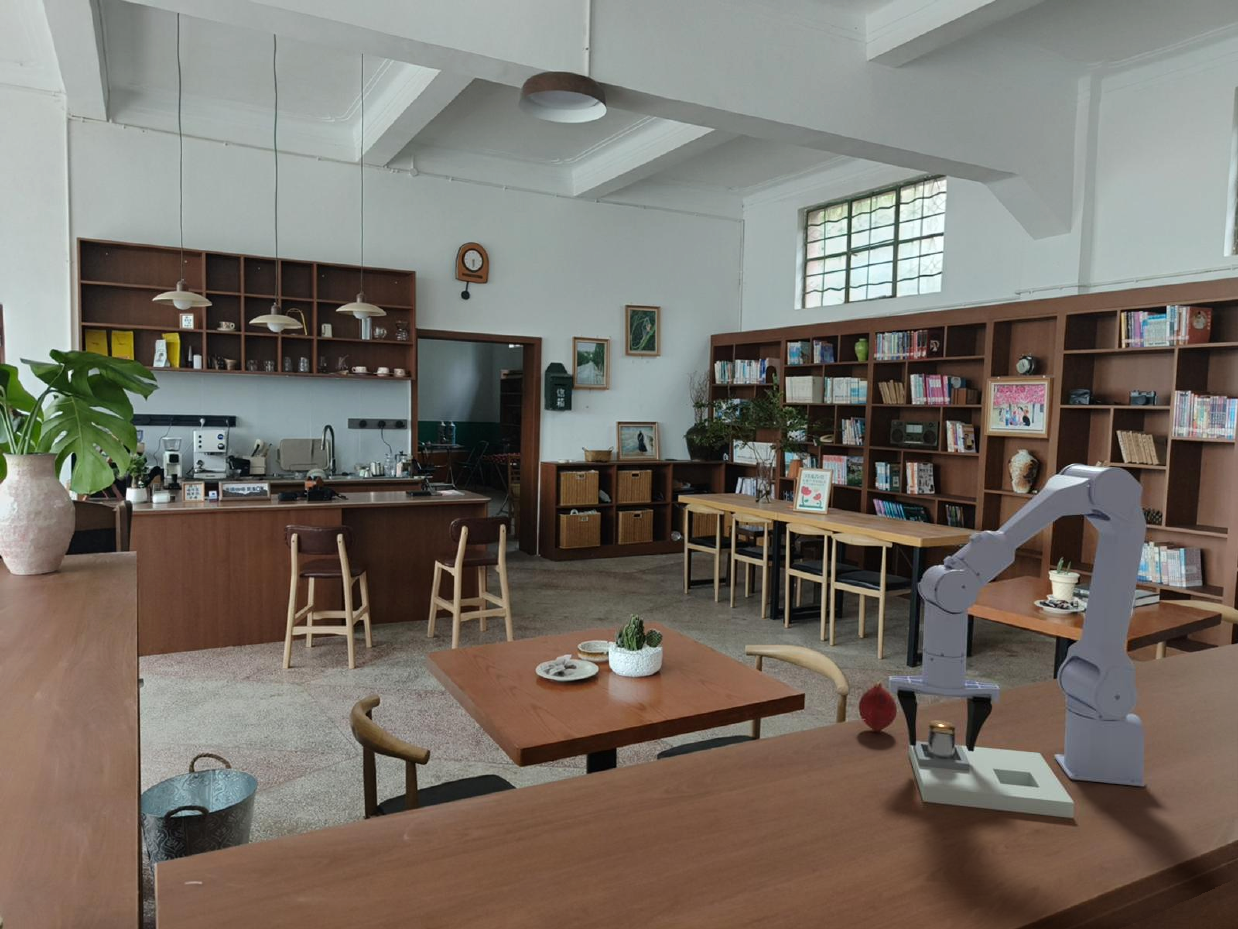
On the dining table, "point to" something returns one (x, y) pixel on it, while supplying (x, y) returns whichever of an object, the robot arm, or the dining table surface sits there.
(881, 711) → the onion
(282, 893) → the dining table surface
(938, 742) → the silver and gold cylinder
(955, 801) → the board
